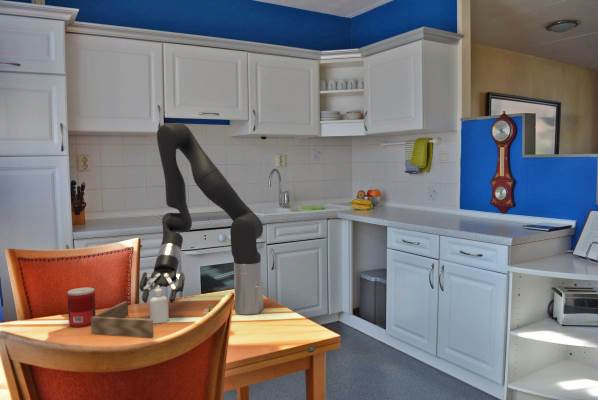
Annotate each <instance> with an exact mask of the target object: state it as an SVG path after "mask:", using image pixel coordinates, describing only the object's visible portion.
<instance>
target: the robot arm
mask: <svg viewBox="0 0 598 400" xmlns="http://www.w3.org/2000/svg"><path fill="white" fill-rule="evenodd" d="M156 141H157V148H158V152H159V155H160V161H161V167H162V170H163V175H164V185H165V203H166V205H167V207H169V208H172V209H176V210H177V212H167V213H165V214H164V216H163V217H162V219H161V225H162V239H161V243H160V248H159V249H158V253H157V256H156V258H155V259H156V260H155V264H154V267H153V272H152V273H147V272H145V271H144V272H143V273H142V276H141V279H140V282H139V285H138V289H139V290H140V291H141V292H142V296H141V299H142V301H143V303H144V304H147V303H148V299H149V296H150V292H151V291H153V290H155V289H157V285H159V286H160V288H161V287H164V288H167V287H170V289H171V290H170V294H169V299H168V302H169V303H170V304H173V303H174V302H175V301H176V296H177V294H178V292H183V291H184V286H185V280H186V277H185V274H184V272H182V271H181V272H180V273H177V272H178V267H179V263H180V260H181V252H182V251H181V250H182V246H183V242H184V238H183V236H182V235H181V234H180V233H187V232H189V231H190V230H191V228H192V225H193V220H192V217H191V214H190V211H189V208H188V204H187V194H186V191H187V190H186V182H185V179H184V177H183V174H182V172H181V170H180V168H179V165H178V161H177V150H179V151H180V152H181V153H182V154H183V155H184V157H185V158H186V159H187V161H188V162H189V164H190V165H189V166H190V167H191V173H192V177H193V181H194V183H195V184H196V186H197V187H198V188H199V190H200V192H202V194H203V195H204V196H205V197H206V198H207V199H209V201H210V202H212V203H213V204H214V205H216V206H217V207H219V208H221V210H222V211H224V212H225V213H226V214H227V216H229V218H230V219H231V221H232V223H231V225H230V232H229V233H230V234H229V235H230V250H231V255H232V257H233V280H234V282H233V285H234V287H233V288H234V312H235V313H236V314H238V315H246V316H247V315H258V314H260V313H261V312H262V311H263V310H264V282H263V281H262V266H261V265H262V261H261V259H262V258H261V253H260V252H259V251H258V245H257V240H258V239H259V238H260V237H261V236H262V235H263V233H264V226H263V223H262V221H261V219H260V217H258V216H257V214H255V212H254V211H252V209H251V208H250V207H249V206H248V205H247V204H246V203H245V202H244V200H243V199H241V197H240V196H239V194H238V193H237V192H236V190H235V189H234V188H233V186H232V185H231V184H230V183H229V181H228V180H227V179H226V177H225V175H224V174H223V173H222V172H221V171H220V170H219V169H218V167H217V166H216V165H215V164H214V163H213V161H212V160H211V158H210V157H209V156H208V155H207V153H206V152H205V151H204V149H203V148H202V147H201V144H200V143H199V142H198V140H197V139H196V138H195V136H194V134H193V132H192V131H191V129H190V128H189V127H188V126H187V125H186V124H184V123H181V122H172V123H164V124H161V125H160V126H159V127H158V129H157V132H156ZM175 280H178V284H177V286H176V285H175V284H174V282H175Z"/></svg>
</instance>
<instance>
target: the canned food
mask: <svg viewBox="0 0 598 400" xmlns="http://www.w3.org/2000/svg"><path fill="white" fill-rule="evenodd" d="M95 293H96V292H95V288H93V287H88V286H86V287H78V288H77V287H76V288H72V289H70V290H68V291H67V310H68V313H67V315H68V324H69V326H70V327H72V328H84V327H89V326H91V317H93V316H95V315H97V314H96V294H95Z"/></svg>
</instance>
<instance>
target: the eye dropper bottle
mask: <svg viewBox="0 0 598 400" xmlns="http://www.w3.org/2000/svg"><path fill="white" fill-rule="evenodd" d="M169 318H170V317H169V299H168V297H167V296H165V295H163V289H162V288H161V287H160V286H159V285H157V287H156V288H155V289H154V296H153V297H151V298H150V299H149V320H153V325H154V324H155V325H156V324H157V325H158V324H163V323H167V322H169Z"/></svg>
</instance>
